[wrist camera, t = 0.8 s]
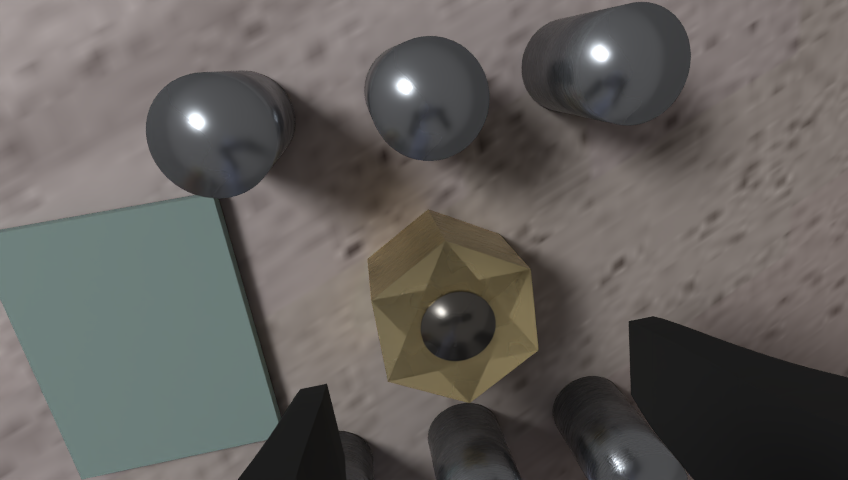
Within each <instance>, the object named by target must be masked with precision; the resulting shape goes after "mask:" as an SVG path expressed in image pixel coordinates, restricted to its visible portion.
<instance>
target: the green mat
mask: <svg viewBox="0 0 848 480" xmlns="http://www.w3.org/2000/svg"><path fill="white" fill-rule="evenodd" d="M0 300H1V302H2V304H3V306H4V308H5V311H6V313H7V315H8V317H9V319H10V322H11V324H12V326H13V328H14V331H15V333H16V335H17V337H18V339H19V342H20V344H21V346H22V348H23V350H24V353H25V355H26V357H27V359H28V362H29V364H30V366H31V368H32V370H33V373H34V375H35V377H36V379H37V381H38V384H39V386H40V388H41V390H42V393H43V395H44V397H45V399H46V401H47V404H48V406H49V408H50V410H51V412H52V415H53V417H54V419H55V421H56V424H57V426H58V428H59V430H60V432H61V435H62V437H63V439H64V441H65V443H66V446H67V448H68V450H69V452H70V455H71V457H72V459H73V461H74V463H75V466H76V468H77V470H78V472H79V474H80V477H81V479H86V478H90V477H95V476H100V475H105V474H109V473H114V472H119V471H123V470H128V469H133V468H137V467H142V466H147V465H151V464H156V463H161V462H165V461H170V460H175V459H179V458H184V457H189V456H193V455H198V454H203V453H207V452H212V451H217V450H221V449H226V448H231V447H236V446H240V445H245V444H250V443H254V442H259V441H264V440H267V439H268V438H269V436H270V435H271V433H272V432H273V430H274V429H275V427H276V426H277V424H278V423H279V421H280V420H281V415H280V412H279V408H278V405H277V401H276V398H275V394H274V391H273V387H272V384H271V380H270V377H269V373H268V370H267V366H266V363H265V359H264V356H263V352H262V349H261V345H260V342H259V338H258V335H257V331H256V328H255V324H254V321H253V317H252V314H251V311H250V307H249V304H248V300H247V297H246V293H245V290H244V286H243V283H242V279H241V276H240V272H239V269H238V265H237V262H236V258H235V255H234V251H233V248H232V244H231V241H230V237H229V234H228V230H227V227H226V223H225V220H224V217H223V213H222V210H221V206H220V203H219V199H218V198H207V197H202V196H198V195H193V196H188V197H182V198H176V199H171V200H165V201H159V202H154V203H148V204H143V205H137V206H131V207H126V208H120V209H114V210H109V211H103V212H97V213H92V214H86V215H81V216H75V217H69V218H64V219H58V220H52V221H47V222H41V223H36V224H30V225H24V226H19V227H13V228H7V229H2V230H0Z"/></svg>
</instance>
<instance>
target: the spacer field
mask: <svg viewBox="0 0 848 480" xmlns="http://www.w3.org/2000/svg"><path fill="white" fill-rule="evenodd" d="M690 60H691V52H690V44H689V39H688V36H687V33H686V31H685V29H684V27H683V25H682V24H681V22H680V21H679V20H678V18H677V17H676V16H675V15H674V14H673V13H671V12H670V11H669V10H667V9H666V8H664V7H662V6H660V5H657V4H654V3H649V2H635V3H630V4H625V5H621V6H616V7H612V8H607V9H603V10H598V11H594V12H589V13H585V14H580V15H576V16H571V17H567V18H562V19H558V20H555V21H552V22H550V23H548V24H546V25H544V26H543V27H542V28H540V29H539V30H538V31H537V32H536V33H535V34H534V35H533V37H532V38H531V40H530V41H529V43H528V45H527V47H526V49H525V52H524V55H523V59H522V77H523V82H524V85H525V87H526V90H527V91H528V93H529V95H530V96H531V97H532V98H533V99H534V100H535V101H536V102H537V103H538V104H540V105H541V106H543V107H545V108H547V109H550V110H554V111H559V112H563V113H568V114H573V115H577V116H582V117H586V118H591V119H596V120H600V121H605V122H609V123H614V124H619V125H637V124H641V123H645V122H647V121H650V120H652V119H654V118H656V117H658V116H659V115H660V114H662V113H663V112H664V111H666V110H667V109H668V108H669V107H670V106H671V105H672V104H673V102H674V101H675V100H676V99H677V97H678V96H679V94H680V92H681V91H682V89H683V87H684V85H685V82H686V80H687V76H688V73H689V68H690ZM364 93H365V100H366V104H367V107H368V110H369V112H370V115H371V117H372V119H373V121H374V124H375V126H376V128H377V130H378V131H379V133H380V135H381V136H382V137H383V139H384V140H385V141H386V142H387V143H388V144H389V145H390V146H391V147H392V148H393V149H395V150H396V151H398V152H399V153H401V154H403V155H405V156H407V157H410V158H413V159H416V160H423V161H434V160H441V159H445V158H448V157H451V156H453V155H455V154H457V153H459V152H461V151H462V150H463V149H465V148H466V147H467V146H468V145H469V144H470V143H471V142H472V141H473V140H474V139H475V138H476V137H477V135H478V134H479V132H480V131H481V129H482V127H483V125H484V123H485V120H486V117H487V113H488V108H489V87H488V82H487V79H486V76H485V73H484V71H483V69H482V67H481V65H480V64H479V62H478V61H477V59H476V58H475V57H474V56H473V54H471V53H470V52H469V51H468V50H467V49H466V48H464V47H463V46H462V45H460V44H458V43H456V42H454V41H452V40H449V39H447V38H442V37H437V36H424V37H418V38H414V39H411V40H408V41H406V42H403V43H401V44H399V45H396V46H394V47H392V48H390V49H388V50H386V51H385V52H383V53H382V54H381V55H380V56H379V57H378V58H377V59H376V60H375V61H374V62H373V64H372V65H371V67H370V69H369V71H368V74H367V77H366V80H365V91H364ZM294 130H295V114H294V110H293V106H292V104H291V101H290V99H289V97H288V96H287V94H286V93H285V91H284V90H283V89H282V88H281V87H280V86H279V85H278V84H277V83H276V82H274V81H273V80H272V79H270V78H268V77H267V76H265V75H262V74H260V73H256V72H252V71H223V72H202V73H193V74H189V75H185V76H182V77H180V78H178V79H176V80H174V81H172V82H170V83H169V84H168V85H167V86H165V87H164V88H163V89H162V90H161V91H160V92H159V93H158V95H157V96H156V98H155V99H154V101H153V103H152V105H151V107H150V109H149V112H148V116H147V122H146V137H147V143H148V147H149V150H150V152H151V155H152V157H153V159H154V161H155V163H156V164H157V166H158V167H159V169H160V170H161V171H162V172H163V173H164V175H165V176H166V177H167V178H168V179H169V180H171V181H172V182H173V183H174V184H176V185H177V186H179V187H180V188H182V189H184V190H186V191H187V192H190V193H192V194H195V195H198V196H202V197H207V198H229V197H233V196H237V195H240V194H242V193H245V192H247V191H248V190H250V189H252V188H253V187H254V186H256V185H257V184H258V183H259V182H260V181H261V180H262V179H263V178H264V177H265V175H266V174H267V173H268V171H269V170H270V169H271V168H272V166H273V165H274V164H275V162H276V161H277V160H278V158H279V157H280V156H281V154H282V153H283V152H284V151H285V149H286V148H287V147H288V145H289V143H290V142H291V139H292V137H293V134H294ZM553 419H554V422H555V424H556V426H557V427H558V429H559V431H560V433H561V434H562V436H563V438H564V440H565V441H566V443H567V445H568V446H569V448H570V450H571V452H572V453H573V455H574V457H575V459H576V460H577V462H578V464H579V466H580V467H581V469H582V471H583V472H584V474H585V476H586V478H587V479H588V480H687V474H686V472H685V470H684V468H683V467H682V465H681V464H680V463H679V462H678V461H677V459H676V458H675V457H674V456H673V455H672V453H671V452H670V451H669V450H668V449H667V447H666V446H665V445H664V444H663V443H662V441H661V440H660V439H659V438H658V437H657V435H656V434H655V433H654V432H653V431H652V429H651V428H650V427H649V426H648V425H647V423H646V422H645V421H644V420H643V419H642V417H641V416H640V415H639V414H638V413H637V411H636V410H635V409H634V408H633V407H632V405H631V404H630V403H629V402H628V401H627V399H626V398H625V397H624V396H623V395H622V393H621V392H620V391H619V390H618V389H617V387H616V386H615V385H614V384H613V383H612V382H610V381H609V380H607V379H605V378H602V377H596V376H590V377H584V378H580V379H578V380H575V381H574V382H572V383H570V384H569V385H567V386H566V387H565V388H564V389H563V390H562V391H561V392H560V394H559V395H558V397H557V398H556V400H555V403H554V406H553ZM339 435H340V439H341V443H342V447H343V451H344V455H345V466H346V480H374V472H373V457H372V453H371V450H370V448H369V446H368V445H367V443H366V442H365V441H364V440H362V439H361V438H360V437H358V436H356V435H354V434H351V433H348V432H342V431H339ZM428 443H429V448H430V452H431V457H432V462H433V467H434V471H435V476H436V480H521V477H520V475H519V472H518V470H517V468H516V465H515V463H514V460H513V458H512V456H511V453H510V451H509V448H508V446H507V444H506V441H505V439H504V436H503V434H502V432H501V429H500V427H499V424H498V422H497V420H496V418H495V416H494V415H493V414H492V412H490V411H489V410H488V409H487V408H485V407H483V406H480V405H477V404H471V403H464V404H458V405H454V406H452V407H449V408H447V409H446V410H444V411H443V412H441V413H440V414H439V415H438V416H437V417H436V418H435V419H434V421H433V422H432V424H431V426H430V429H429V432H428Z"/></svg>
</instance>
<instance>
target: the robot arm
mask: <svg viewBox="0 0 848 480" xmlns="http://www.w3.org/2000/svg"><path fill="white" fill-rule="evenodd" d="M629 346H630V378H631V395H632V397H633V398H634V400H635V402H636V403H637V405H638V407H639V408H640V410H641V412H642V413H643V415H644V417H645V418H646V420H647V421H648V423H649V424H650V426H651V427H652V429H653V430H654V432H655V433H656V434H657V435H658V437H659V438H660V439H661V440H662V442H663V443H664V444H665V445H666V447H667V448H668V449H669V450H670V451H671V453H672V454H673V455H674V456H675V458H676V459H677V460H678V461H679V462H680V464H681V465H682V466H683V467H684V468H685V470H686V471H687V472H688V473H689V474H690V476H691V477H692V478H693V479H694V480H848V377H844V376H840V375H836V374H831V373H827V372H823V371H819V370H815V369H811V368H807V367H804V366H800V365H797V364H793V363H790V362H786V361H783V360H780V359H777V358H774V357H770V356H767V355H764V354H761V353H758V352H755V351H752V350H749V349H746V348H743V347H740V346H737V345H734V344H732V343H729V342H726V341H723V340H721V339H718V338H715V337H712V336H710V335H707V334H704V333H702V332H699V331H696V330H693V329H691V328H688V327H685V326H682V325H680V324H677V323H674V322H671V321H668V320H665V319H661V318H658V317H654V316H652V317H647V318H643V319H638V320H633V321H629ZM238 480H346V466H345V455H344V451H343V447H342V443H341V439H340V435H339V430H338V426H337V422H336V418H335V414H334V410H333V406H332V402H331V398H330V394H329V390H328V386H327V384H324V385H319V386H314V387H309V388H304V389H300V390H299V392H298V393H297V395H296V396H295V398H294V399H293V401H292V402H291V404H290V405H289V407H288V409H287V410H286V412H285V413H284V415H283V416H282V418H281V420H280V421H279V423H278V424H277V426H276V427H275V429H274V430H273V432H272V433H271V435H270V436H269V438H268V439H267V441H266V442H265V443H264V445H263V446H262V448H261V449H260V451H259V452H258V454H257V455H256V456H255V458H254V459H253V460H252V462H251V463H250V464H249V466H248V467H247V468H246V469H245V471H244V472H243V473H242V475H241V476H240V477H239V479H238Z"/></svg>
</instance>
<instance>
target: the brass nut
mask: <svg viewBox="0 0 848 480" xmlns="http://www.w3.org/2000/svg"><path fill="white" fill-rule="evenodd" d="M368 269H369V280H370V291H371V301H372V306H373V311H374V316H375V320H376V325H377V330H378V335H379V340H380V345H381V350H382V355H383V360H384V364H385V369H386V374H387V379H388V382H391V383H395V384H399V385H403V386H407V387H410V388H414V389H418V390H422V391H426V392H429V393H433V394H437V395H441V396H445V397H448V398H452V399H456V400H460V401H464V402H468V403H470V402H472V401H473V400H474V399H476V398H477V397H478V396H479V395H481V394H482V393H483V392H485V391H486V390H487V389H489V388H490V387H491V386H493V385H494V384H495V383H496V382H498V381H499V380H500V379H502V378H503V377H504V376H506V375H507V374H508V373H509V372H511V371H512V370H513V369H515V368H516V367H517V366H519V365H520V364H521V363H522V362H524V361H525V360H526V359H528V358H529V357H530V356H532V355H533V354H534V353H535V352H537V351H538V340H537V330H536V319H535V309H534V299H533V288H532V278H531V269H530V268H529V267H528V266H527V265H526V264H525V262H524V261H523V260H522V259H521V258H520V257H519V256H518V255H517V253H516V252H515V251H514V250H513V249H512V248H511V247H510V246H509V244H508V243H507V242H506V241H505V240H504V239H503V238H502V237H501V236H500V234H498V233H495V232H492V231H489V230H486V229H483V228H480V227H478V226H475V225H472V224H469V223H466V222H463V221H460V220H457V219H454V218H452V217H449V216H446V215H443V214H440V213H437V212H434V211H431V210H427V211H426V212H424V213H423V214H422V215H421V216H419V217H418V218H417V219H416V220H415V221H413V222H412V223H411V224H410V225H408V226H407V227H406V228H405V229H404V230H402V231H401V232H400V233H399V234H397V235H396V236H395V237H394V238H393V239H391V240H390V241H389V242H388V243H387V244H385V245H384V246H383V247H382V248H380V249H379V250H378V251H377V252H376V253H374V254H373V255H372V256H371V257H369V258H368Z"/></svg>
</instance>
